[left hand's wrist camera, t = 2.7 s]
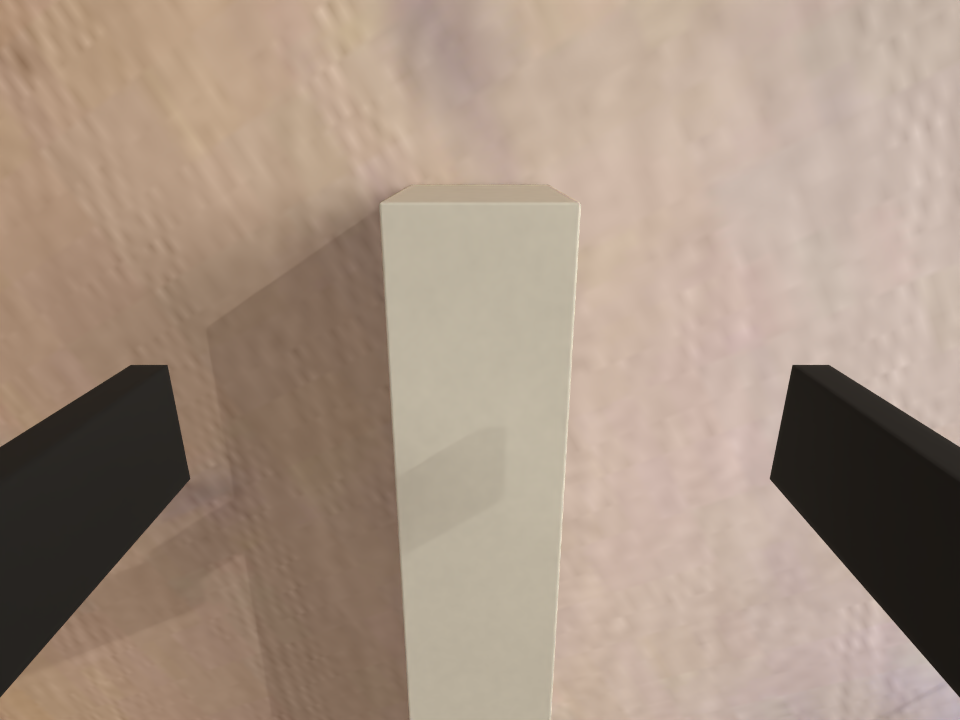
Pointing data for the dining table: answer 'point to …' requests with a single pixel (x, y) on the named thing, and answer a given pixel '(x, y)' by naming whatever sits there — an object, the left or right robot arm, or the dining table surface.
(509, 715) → the bar
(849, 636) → the dining table surface
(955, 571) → the left robot arm
